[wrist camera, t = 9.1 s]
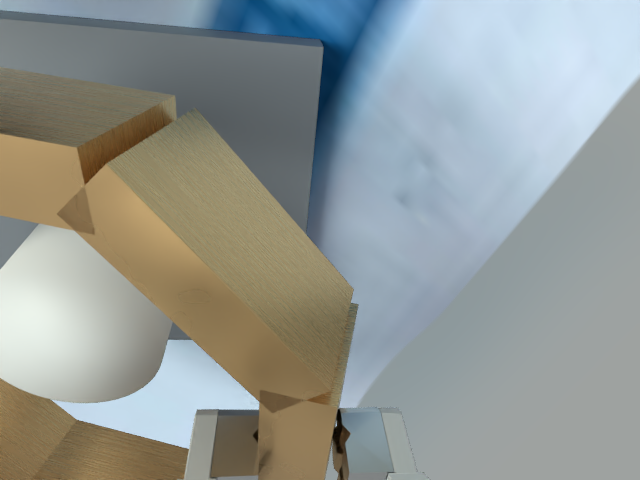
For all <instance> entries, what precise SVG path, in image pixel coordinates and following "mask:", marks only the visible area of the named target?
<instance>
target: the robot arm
mask: <svg viewBox="0 0 640 480" xmlns="http://www.w3.org/2000/svg"><path fill="white" fill-rule="evenodd" d="M336 421H337V426H336V427H335V428H334V434H333V442H332V451H333V464H334V469H335V470H336V471H337V472H338V479H337V480H430V479H429V477H428V476H427V475H426V474H425V473H424V472H418V471H417V468H416V464H415V460H414V457H413V453H412V449H411V446H410V442H409V438H408V435H407V431H406V428H405V424H404V420H403V416H402V413H401V411H400V409H399V408H397V407H395V408H394V407H392V408H377V407H367V408H339V409H338V412H337V418H336ZM258 431H259V410H219V409H209V410H197V412H196V414H195V418H194V423H193V429H192V435H191V441H190V446H189V452H188V458H187V464H186V470H185V475H184V479H177V480H258V477H259V445H258Z"/></svg>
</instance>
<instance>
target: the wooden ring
mask: <svg viewBox="0 0 640 480" xmlns="http://www.w3.org/2000/svg"><path fill="white" fill-rule="evenodd" d="M0 216H5V217H10V218H15V219H20V220H25V221H30V222H34V223H39V224H44V225H49V226H54V227H59V228H64V229H68V230H73V231H75V232H76V233H77V234H79V235H80V236H81V237H82V238H83V239H84V240H85V241H86V242H87V243H88V244H89V245H90V246H92V247H93V248H94V249H95V250H96V251H97V252H98V253H99V254H100V255H101V256H102V257H103V258H105V259H106V260H107V261H108V262H109V263H110V264H111V265H112V266H113V267H114V268H115V269H116V270H117V271H119V272H120V273H121V274H122V275H123V276H124V277H125V278H126V279H127V280H128V281H129V282H130V283H132V284H133V285H134V286H135V287H136V288H137V289H138V290H139V291H140V292H141V293H142V294H143V295H145V296H146V297H147V298H148V299H149V300H150V301H151V302H152V303H153V304H154V305H155V306H156V307H157V308H159V309H160V310H161V311H162V312H163V313H164V314H165V315H166V316H167V317H168V318H169V319H170V320H172V321H173V322H174V323H175V324H176V325H177V326H178V327H179V328H180V329H181V330H182V331H183V332H185V333H186V334H187V335H188V336H189V337H190V338H191V339H192V340H193V341H194V342H195V343H196V344H197V345H199V346H200V347H201V348H202V349H203V350H204V351H205V352H206V353H207V354H208V355H209V356H210V357H212V358H213V359H214V360H215V361H216V362H217V363H218V364H219V365H220V366H221V367H222V368H223V369H225V370H226V371H227V372H228V373H229V374H230V375H231V376H232V377H233V378H234V379H235V380H236V381H237V382H239V383H240V384H241V385H242V386H243V387H244V388H245V389H246V390H247V391H248V392H249V393H250V394H252V395H253V396H254V397H255V398H256V399H257V400H258V401H259V431H258V445H259V477H258V480H325V476H326V471H327V466H328V461H329V456H330V451H331V446H332V441H333V434H334V428H335V426H336V418H337V412H338V409H339V405H340V399H341V394H342V389H343V384H344V378H345V373H346V368H347V362H348V357H349V352H350V347H351V341H352V336H353V331H354V325H355V320H356V315H357V310H358V304H354V303H351V299H352V295H353V290H354V289H353V288H352V287H351V286H350V285H349V283H348V282H347V281H346V280H345V279H344V278H343V276H342V275H341V274H340V273H339V272H338V271H337V270H336V268H335V267H334V266H333V265H332V264H331V263H330V261H329V260H328V259H327V258H326V257H325V256H324V255H323V253H322V252H321V251H320V250H319V249H318V248H317V247H316V245H315V244H314V243H313V242H312V241H311V240H310V238H309V237H308V236H307V235H306V234H305V233H304V232H303V230H302V229H301V228H300V227H299V226H298V225H297V224H296V222H295V221H294V220H293V219H292V218H291V217H290V215H289V214H288V213H287V212H286V211H285V210H284V209H283V207H282V206H281V205H280V204H279V203H278V202H277V200H276V199H275V198H274V197H273V196H272V195H271V194H270V192H269V191H268V190H267V189H266V188H265V187H264V186H263V184H262V183H261V182H260V181H259V180H258V179H257V177H256V176H255V175H254V174H253V173H252V172H251V171H250V169H249V168H248V167H247V166H246V165H245V164H244V163H243V161H242V160H241V159H240V158H239V157H238V156H237V154H236V153H235V152H234V151H233V150H232V149H231V148H230V146H229V145H228V144H227V143H226V142H225V141H224V139H223V138H222V137H221V136H220V135H219V134H218V133H217V131H216V130H215V129H214V128H213V127H212V126H211V125H210V123H209V122H208V121H207V120H206V119H205V118H204V116H203V115H202V114H201V113H200V112H199V111H198V110H197V108H196V107H195V108H194V109H192V110H191V111H189V112H188V113H186V114H184V115H183V116H181V117H180V118H178V119H177V113H176V101H175V95H170V94H164V93H158V92H152V91H145V90H139V89H133V88H127V87H121V86H114V85H108V84H102V83H96V82H90V81H83V80H77V79H71V78H65V77H59V76H52V75H46V74H40V73H34V72H28V71H21V70H15V69H9V68H3V67H0ZM188 452H189V449H187V448H183V447H179V446H175V445H171V444H167V443H164V442H160V441H156V440H152V439H148V438H144V437H141V436H137V435H133V434H129V433H125V432H121V431H117V430H114V429H110V428H106V427H102V426H98V425H94V424H91V423H87V422H83V421H79V420H76V419H75V418H74V417H72V416H71V415H70V414H69V413H67V412H66V411H65V410H63V409H62V408H61V407H59V406H58V405H57V404H55V403H54V402H53V401H52V400H50V399H48V398H44V397H40V396H37V395H34V394H31V393H28V392H26V391H24V390H21V389H19V388H17V387H15V386H13V385H11V384H9V383H7V382H6V381H4V380H3V379H1V378H0V480H177V479H184V475H185V470H186V464H187V458H188Z"/></svg>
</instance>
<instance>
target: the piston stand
mask: <svg viewBox="0 0 640 480" xmlns="http://www.w3.org/2000/svg"><path fill="white" fill-rule="evenodd" d="M323 48H324V47H323V45H322V43H321V41H320V39H309V38H298V37H287V36H276V35H265V34H254V33H243V32H232V31H221V30H210V29H199V28H188V27H177V26H166V25H155V24H144V23H132V22H121V21H110V20H99V19H88V18H77V17H66V16H55V15H44V14H33V13H22V12H11V11H0V67H3V68H9V69H15V70H21V71H28V72H34V73H40V74H46V75H52V76H59V77H65V78H71V79H77V80H83V81H90V82H96V83H102V84H108V85H114V86H121V87H127V88H133V89H139V90H145V91H152V92H158V93H164V94H170V95H175V101H176V113H177V119H178V118H180V117H181V116H183V115H184V114H186V113H188V112H189V111H191V110H192V109H194V108H195V107H196V108H197V110H198V111H199V112H200V113H201V114H202V115H203V116H204V118H205V119H206V120H207V121H208V122H209V123H210V125H211V126H212V127H213V128H214V129H215V130H216V131H217V133H218V134H219V135H220V136H221V137H222V138H223V139H224V141H225V142H226V143H227V144H228V145H229V146H230V148H231V149H232V150H233V151H234V152H235V153H236V154H237V156H238V157H239V158H240V159H241V160H242V161H243V163H244V164H245V165H246V166H247V167H248V168H249V169H250V171H251V172H252V173H253V174H254V175H255V176H256V177H257V179H258V180H259V181H260V182H261V183H262V184H263V186H264V187H265V188H266V189H267V190H268V191H269V192H270V194H271V195H272V196H273V197H274V198H275V199H276V200H277V202H278V203H279V204H280V205H281V206H282V207H283V209H284V210H285V211H286V212H287V213H288V214H289V215H290V217H291V218H292V219H293V220H294V221H295V222H296V224H297V225H298V226H299V227H300V228H301V229H302V230H303V232H304V233H305V234H306V229H307V218H308V208H309V197H310V187H311V176H312V165H313V155H314V144H315V133H316V123H317V112H318V102H319V91H320V80H321V70H322V59H323ZM168 340H192V339H191V338H190V337H189V336H188V335H187V334H186V333H185V332H183V331H182V330H181V329H180V328H179V327H178V326H177V325H176V324H175V323H174V322H173V321H172V320H170V319H169V318H168V317H167V316H166V315H165V314H164V313H163V312H162V311H161V310H160V309H159V308H157V307H156V306H155V305H154V304H153V303H152V302H151V301H150V300H149V299H148V298H147V297H146V296H145V295H143V294H142V293H141V292H140V291H139V290H138V289H137V288H136V287H135V286H134V285H133V284H132V283H130V282H129V281H128V280H127V279H126V278H125V277H124V276H123V275H122V274H121V273H120V272H119V271H117V270H116V269H115V268H114V267H113V266H112V265H111V264H110V263H109V262H108V261H107V260H106V259H105V258H103V257H102V256H101V255H100V254H99V253H98V252H97V251H96V250H95V249H94V248H93V247H92V246H90V245H89V244H88V243H87V242H86V241H85V240H84V239H83V238H82V237H81V236H80V235H79V234H77V233H76V232H75V231H73V230H68V229H64V228H59V227H54V226H49V225H44V224H39V223H34V222H30V221H25V220H20V219H15V218H10V217H5V216H0V378H1V379H3V380H4V381H6V382H7V383H9V384H11V385H13V386H15V387H17V388H19V389H21V390H24V391H26V392H28V393H31V394H34V395H37V396H40V397H44V398H48V399H52V400H57V401H63V402H72V403H98V402H105V401H111V400H115V399H119V398H122V397H125V396H128V395H130V394H132V393H134V392H136V391H138V390H140V389H141V388H143V387H144V386H145V385H146V384H148V383H149V382H150V381H151V380H152V379H153V378H154V376H155V375H156V373H157V372H158V370H159V368H160V365H161V363H162V359H163V356H164V352H165V348H166V345H167V341H168Z"/></svg>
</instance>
